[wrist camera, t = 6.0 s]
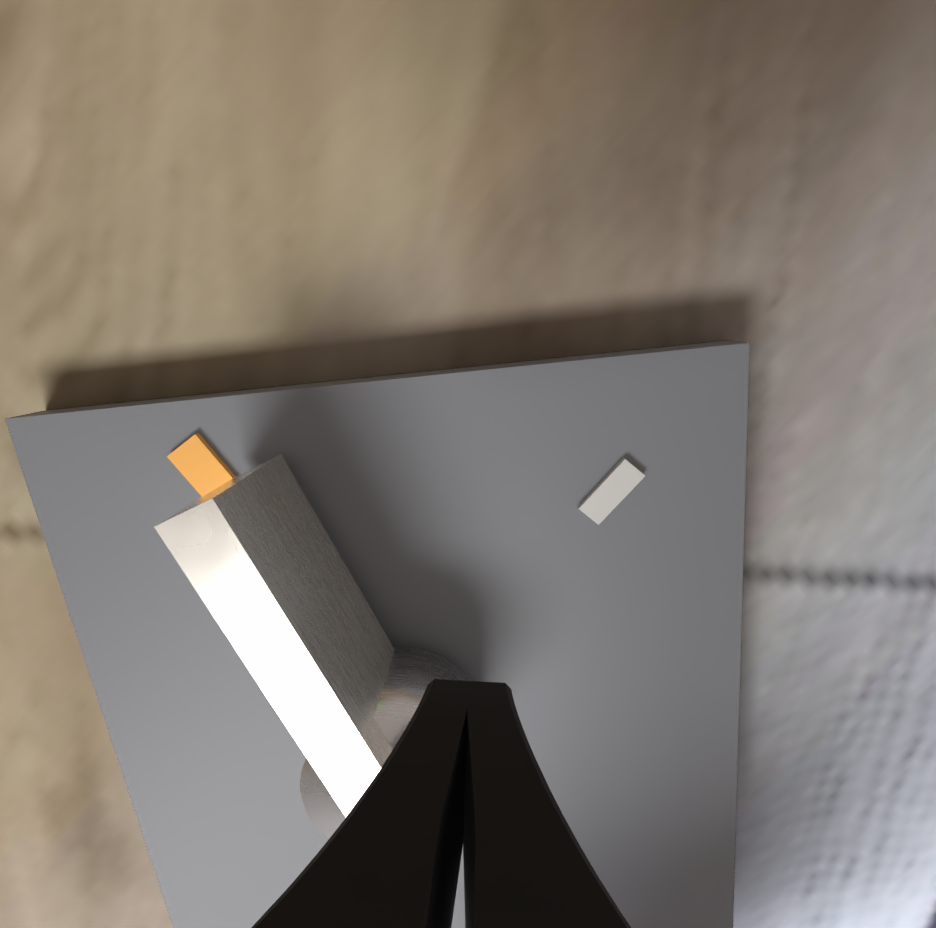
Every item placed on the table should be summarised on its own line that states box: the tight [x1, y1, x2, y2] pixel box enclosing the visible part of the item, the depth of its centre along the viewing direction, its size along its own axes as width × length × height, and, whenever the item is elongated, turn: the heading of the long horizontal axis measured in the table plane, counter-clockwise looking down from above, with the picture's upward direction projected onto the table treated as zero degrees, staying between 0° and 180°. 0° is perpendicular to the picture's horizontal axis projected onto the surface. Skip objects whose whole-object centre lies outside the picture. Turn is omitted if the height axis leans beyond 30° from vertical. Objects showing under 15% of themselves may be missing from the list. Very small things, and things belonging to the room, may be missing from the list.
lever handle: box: [154, 455, 470, 839], centre depth 15 cm, size 12×5×4 cm, turn 26°
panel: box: [5, 341, 750, 928], centre depth 19 cm, size 22×22×2 cm
